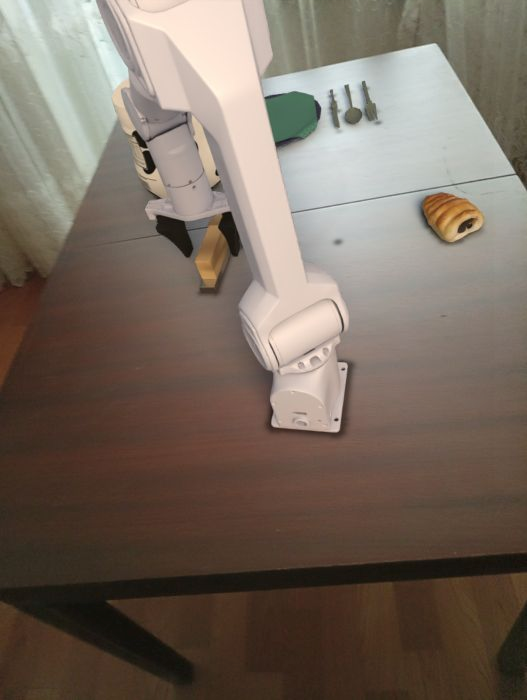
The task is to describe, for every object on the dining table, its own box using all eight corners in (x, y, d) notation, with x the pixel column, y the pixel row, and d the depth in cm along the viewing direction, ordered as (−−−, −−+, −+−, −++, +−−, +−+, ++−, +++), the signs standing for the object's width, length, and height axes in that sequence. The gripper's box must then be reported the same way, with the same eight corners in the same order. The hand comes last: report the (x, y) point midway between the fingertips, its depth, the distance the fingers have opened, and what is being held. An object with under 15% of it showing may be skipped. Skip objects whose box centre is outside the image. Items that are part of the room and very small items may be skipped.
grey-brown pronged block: (224, 292, 74) (221, 287, 73) (194, 292, 75) (191, 287, 74) (248, 220, 83) (246, 214, 82) (221, 221, 85) (219, 215, 84)
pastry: (409, 213, 76) (410, 192, 73) (448, 196, 76) (450, 174, 73) (447, 247, 70) (449, 225, 67) (488, 228, 70) (493, 206, 68)
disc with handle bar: (215, 222, 83) (209, 204, 80) (245, 221, 81) (239, 203, 78) (193, 279, 75) (185, 261, 72) (225, 279, 74) (218, 261, 71)
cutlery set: (226, 113, 107) (223, 103, 105) (367, 83, 102) (366, 71, 101) (222, 165, 95) (219, 154, 93) (382, 133, 90) (382, 121, 88)
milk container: (246, 152, 96) (220, 53, 82) (218, 209, 87) (184, 109, 73) (167, 155, 102) (131, 63, 88) (133, 209, 92) (86, 116, 78)
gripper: (242, 152, 65) (264, 233, 75) (143, 160, 69) (177, 236, 80) (229, 185, 61) (254, 266, 72) (125, 191, 65) (163, 267, 76)
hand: (212, 252), depth 75 cm, fingers open, 7 cm apart
